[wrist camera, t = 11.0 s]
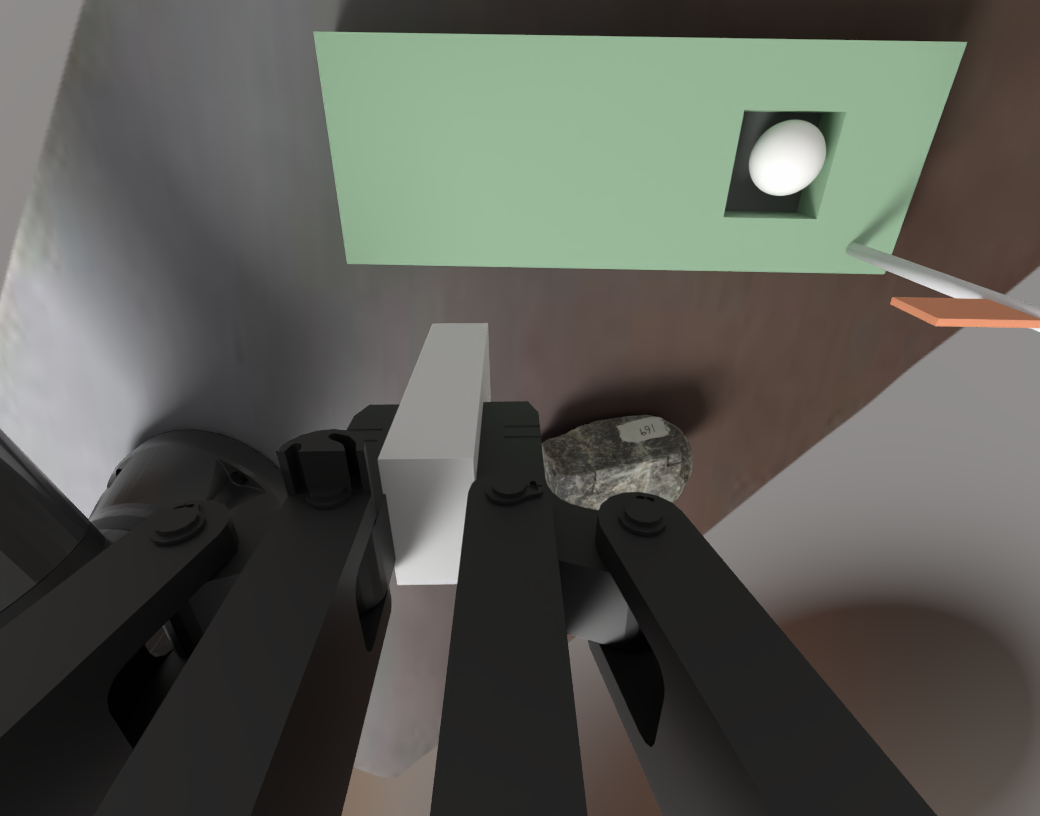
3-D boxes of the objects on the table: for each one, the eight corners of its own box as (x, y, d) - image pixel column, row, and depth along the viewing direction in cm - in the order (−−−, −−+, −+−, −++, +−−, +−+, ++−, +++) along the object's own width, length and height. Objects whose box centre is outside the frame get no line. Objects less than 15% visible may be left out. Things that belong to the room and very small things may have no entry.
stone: (609, 362, 43) (696, 408, 35) (635, 420, 47) (717, 473, 39) (479, 464, 41) (540, 537, 33) (518, 515, 45) (580, 592, 37)
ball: (822, 200, 29) (808, 192, 32) (843, 119, 27) (826, 118, 30) (745, 199, 30) (740, 190, 33) (760, 120, 28) (753, 119, 31)
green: (360, 253, 35) (236, 346, 20) (332, 39, 29) (129, -50, 14) (857, 262, 35) (1101, 364, 20) (927, 49, 29) (1344, -32, 14)
